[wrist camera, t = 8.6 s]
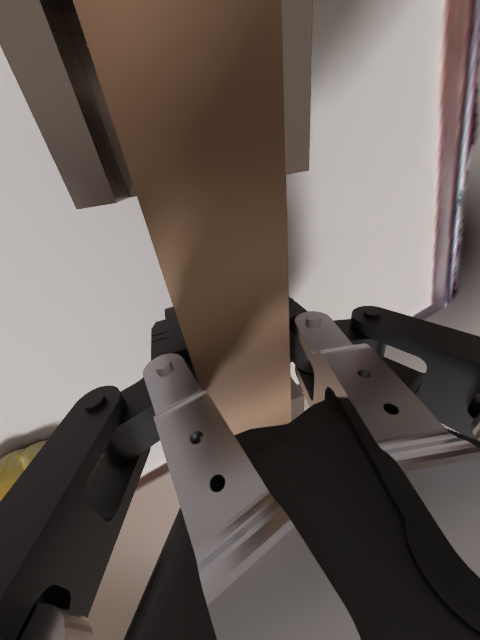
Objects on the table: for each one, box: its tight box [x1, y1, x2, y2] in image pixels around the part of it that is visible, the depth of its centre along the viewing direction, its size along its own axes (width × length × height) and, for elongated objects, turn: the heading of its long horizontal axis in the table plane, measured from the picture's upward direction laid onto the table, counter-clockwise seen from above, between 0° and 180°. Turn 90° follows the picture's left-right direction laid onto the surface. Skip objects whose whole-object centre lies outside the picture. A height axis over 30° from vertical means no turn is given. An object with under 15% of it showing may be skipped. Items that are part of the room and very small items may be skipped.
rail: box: [73, 0, 291, 435], centre depth 10 cm, size 18×4×4 cm, turn 8°
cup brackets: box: [0, 0, 313, 421], centre depth 13 cm, size 25×9×11 cm, turn 8°
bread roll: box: [0, 440, 98, 501], centre depth 22 cm, size 8×9×4 cm
